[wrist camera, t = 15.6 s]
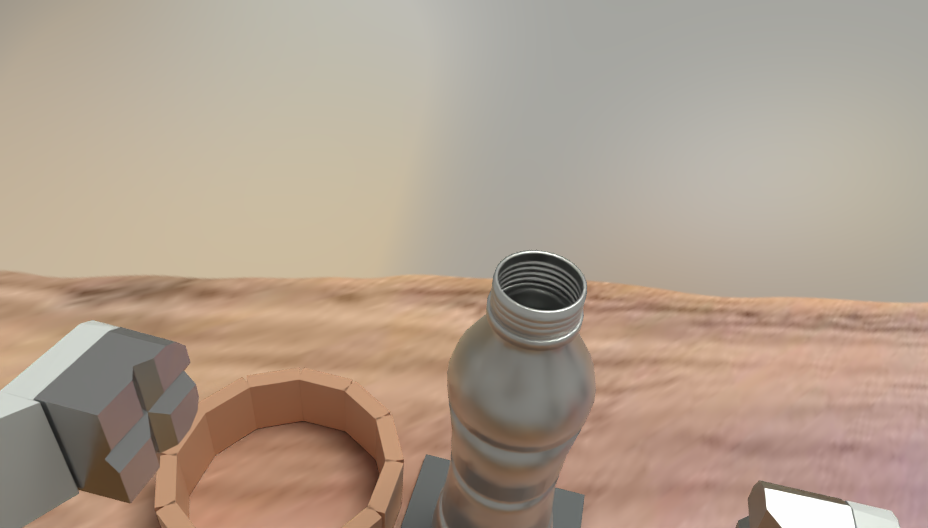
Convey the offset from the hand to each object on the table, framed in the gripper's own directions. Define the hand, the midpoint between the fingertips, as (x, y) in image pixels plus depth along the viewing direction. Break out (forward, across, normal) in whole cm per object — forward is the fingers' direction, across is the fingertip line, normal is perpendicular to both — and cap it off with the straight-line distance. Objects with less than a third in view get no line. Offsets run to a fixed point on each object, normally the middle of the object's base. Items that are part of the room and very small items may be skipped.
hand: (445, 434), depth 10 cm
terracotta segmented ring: (+16, -14, -27) cm, 35 cm away
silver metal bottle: (+16, -2, -28) cm, 32 cm away
